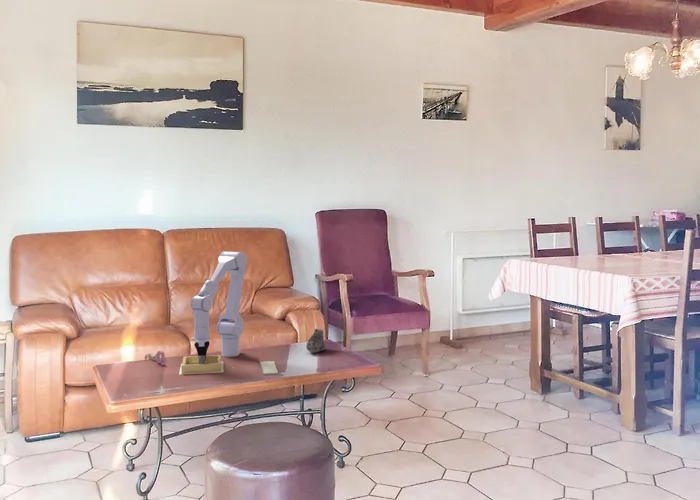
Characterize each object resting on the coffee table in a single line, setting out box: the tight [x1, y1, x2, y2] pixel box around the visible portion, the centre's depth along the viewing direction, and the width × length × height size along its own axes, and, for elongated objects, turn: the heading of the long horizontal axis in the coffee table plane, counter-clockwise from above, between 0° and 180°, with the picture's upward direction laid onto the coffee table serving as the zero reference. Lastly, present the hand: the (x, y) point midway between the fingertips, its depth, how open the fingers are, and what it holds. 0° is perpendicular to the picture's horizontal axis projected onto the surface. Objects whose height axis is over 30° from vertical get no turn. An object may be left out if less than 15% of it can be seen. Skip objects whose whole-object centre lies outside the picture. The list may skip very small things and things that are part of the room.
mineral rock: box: [306, 328, 327, 354], centre depth 282 cm, size 13×11×10 cm
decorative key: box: [144, 350, 166, 366], centre depth 260 cm, size 7×1×20 cm
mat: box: [259, 360, 279, 376], centre depth 252 cm, size 18×18×1 cm
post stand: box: [178, 355, 224, 375], centre depth 248 cm, size 16×16×6 cm
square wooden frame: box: [180, 354, 222, 375], centre depth 248 cm, size 14×14×3 cm
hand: (202, 360), depth 254 cm, fingers closed on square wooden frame
